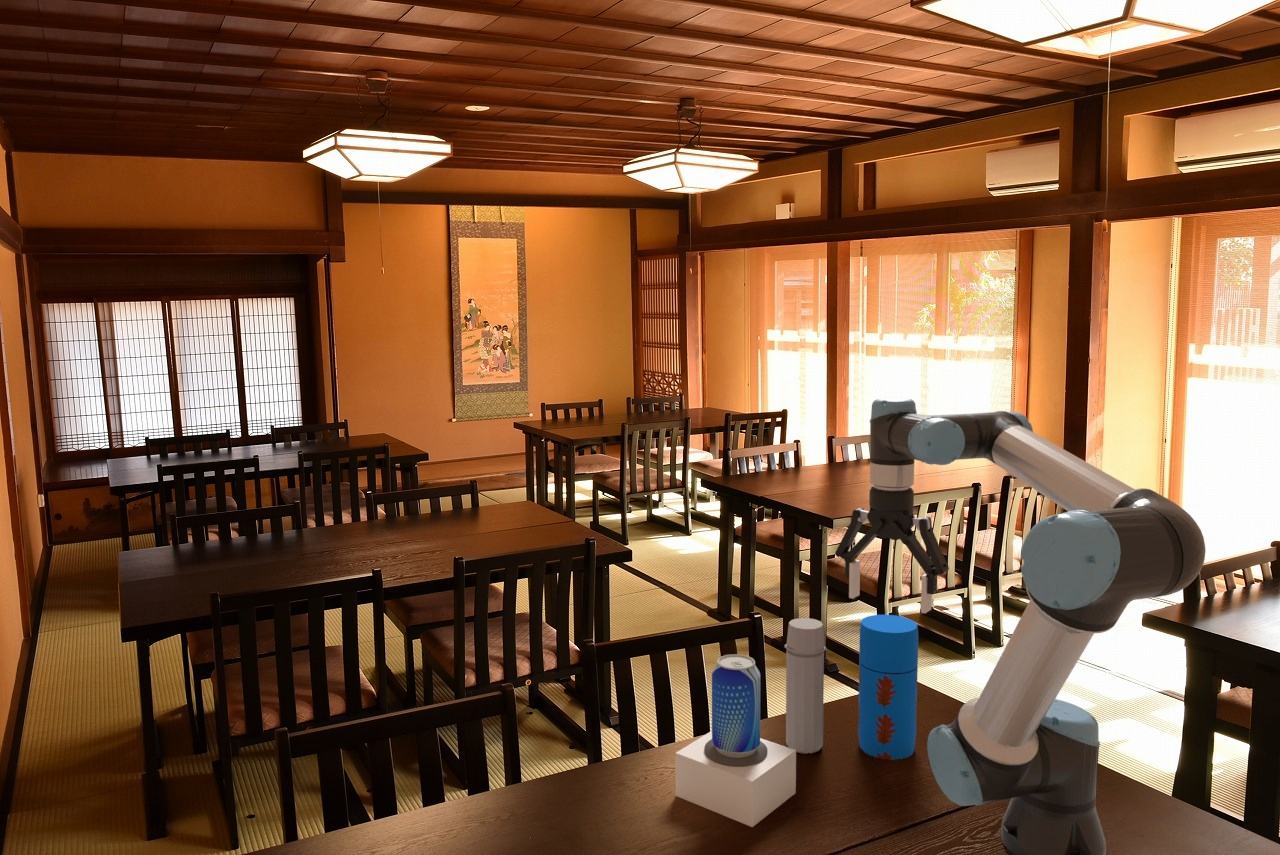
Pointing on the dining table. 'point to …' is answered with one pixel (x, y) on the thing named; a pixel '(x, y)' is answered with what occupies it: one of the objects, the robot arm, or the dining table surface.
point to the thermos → (888, 686)
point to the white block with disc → (736, 779)
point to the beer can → (736, 706)
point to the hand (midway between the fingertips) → (889, 603)
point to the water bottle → (805, 685)
